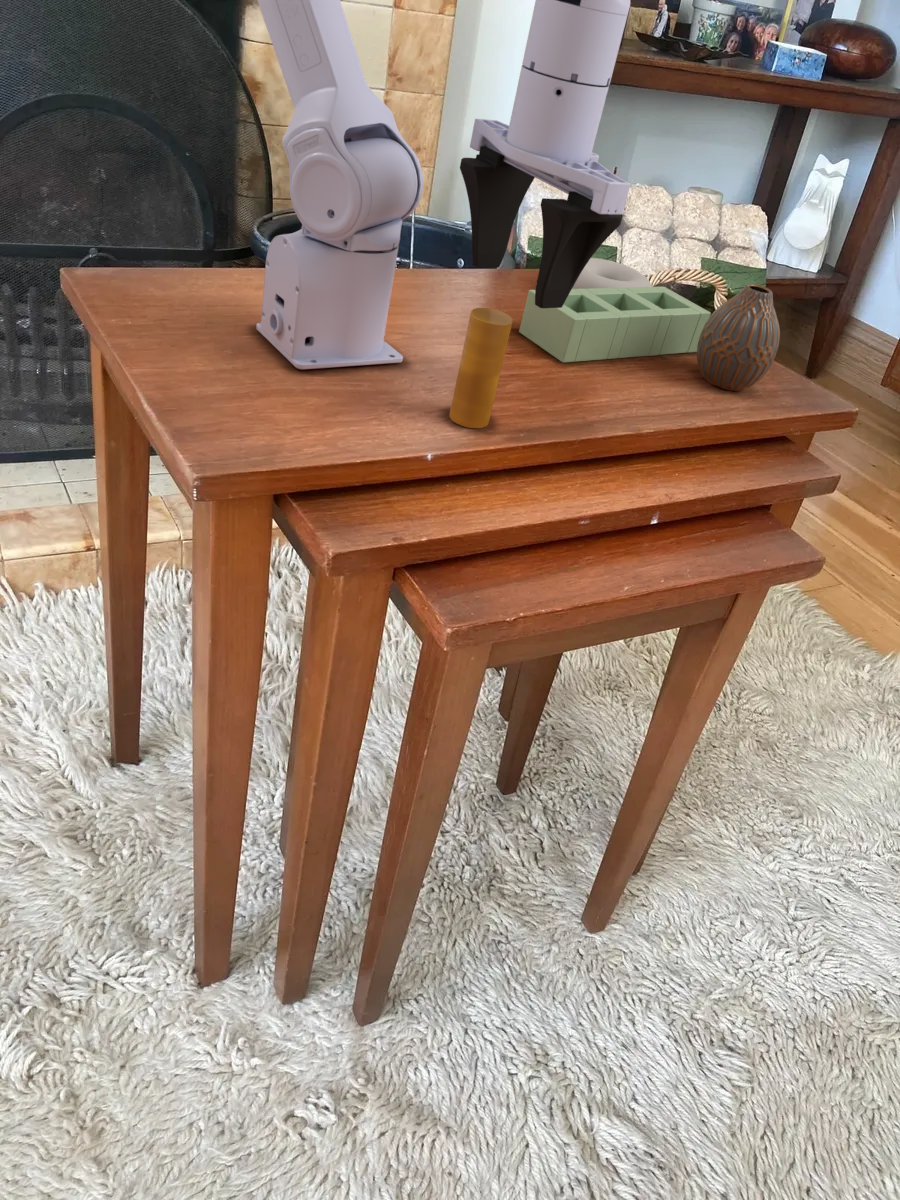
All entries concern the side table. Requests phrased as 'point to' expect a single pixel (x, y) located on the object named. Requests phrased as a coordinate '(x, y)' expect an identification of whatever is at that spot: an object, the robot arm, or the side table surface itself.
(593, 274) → the donut
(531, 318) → the peg block
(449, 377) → the side table surface
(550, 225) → the robot arm
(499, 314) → the peg
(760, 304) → the vase
